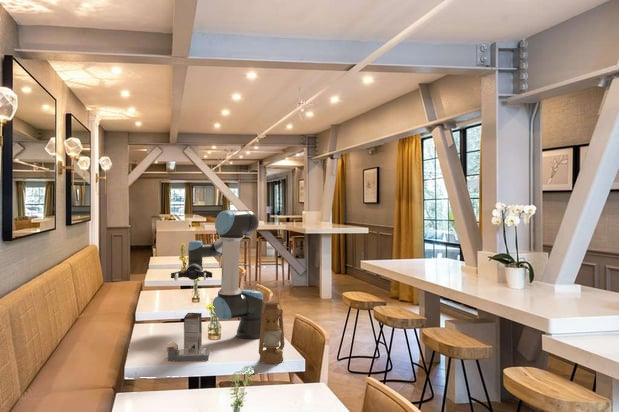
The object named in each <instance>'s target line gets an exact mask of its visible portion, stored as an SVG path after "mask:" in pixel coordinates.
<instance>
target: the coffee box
mask: <svg viewBox="0 0 619 412" xmlns="http://www.w3.org/2000/svg"><path fill="white" fill-rule="evenodd" d="M202 316H203V315H202V312H188V313H187V314H185V315H184V317H183V349H184V354H198V353H199V352H200V350H201V348H203V347H202V344H203V342H202V341H203V339H202V338H203V337H202V336H203V335H202V329H203V327H202V325H203V321H202Z"/></svg>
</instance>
